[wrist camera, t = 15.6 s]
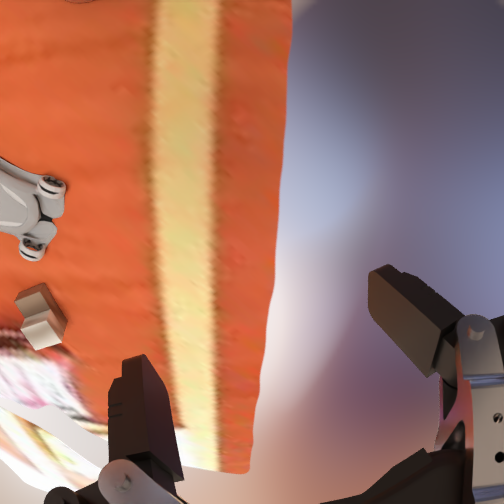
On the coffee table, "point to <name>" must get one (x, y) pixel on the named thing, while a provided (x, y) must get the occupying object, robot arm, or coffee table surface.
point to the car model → (29, 208)
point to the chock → (41, 317)
